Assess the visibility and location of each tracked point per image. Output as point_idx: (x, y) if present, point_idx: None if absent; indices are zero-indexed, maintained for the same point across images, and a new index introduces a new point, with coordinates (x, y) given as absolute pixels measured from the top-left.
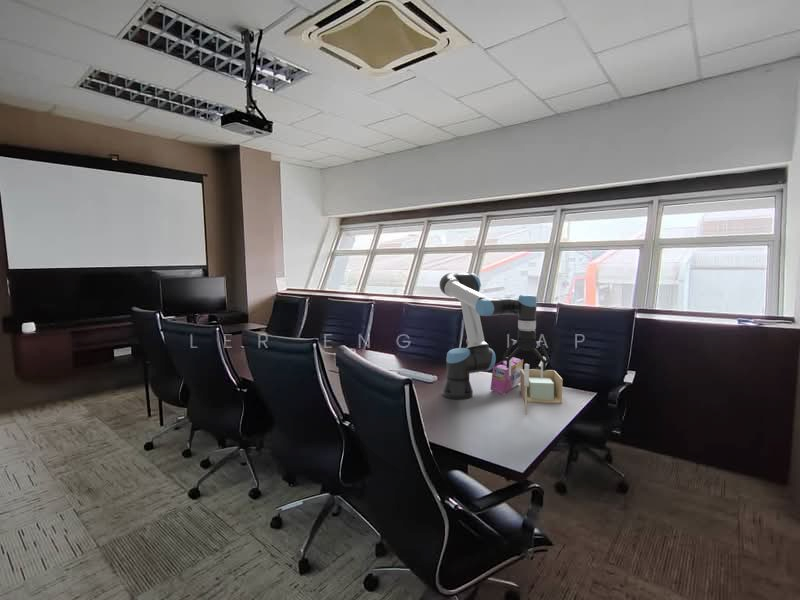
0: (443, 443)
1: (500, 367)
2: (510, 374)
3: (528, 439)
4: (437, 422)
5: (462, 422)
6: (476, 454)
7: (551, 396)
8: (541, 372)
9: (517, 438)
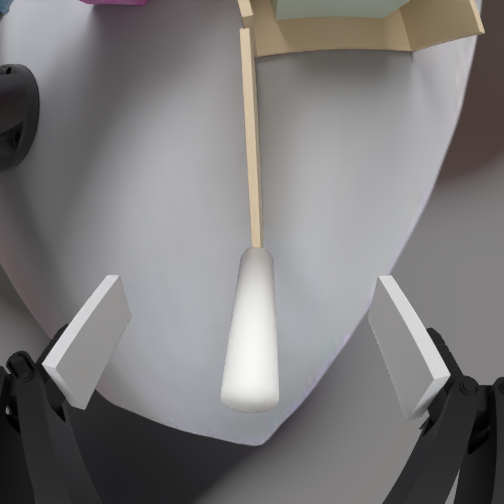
0: (125, 408)
1: None
2: (126, 323)
3: None
4: None
5: None
6: (186, 428)
7: (379, 13)
8: (385, 355)
9: None
